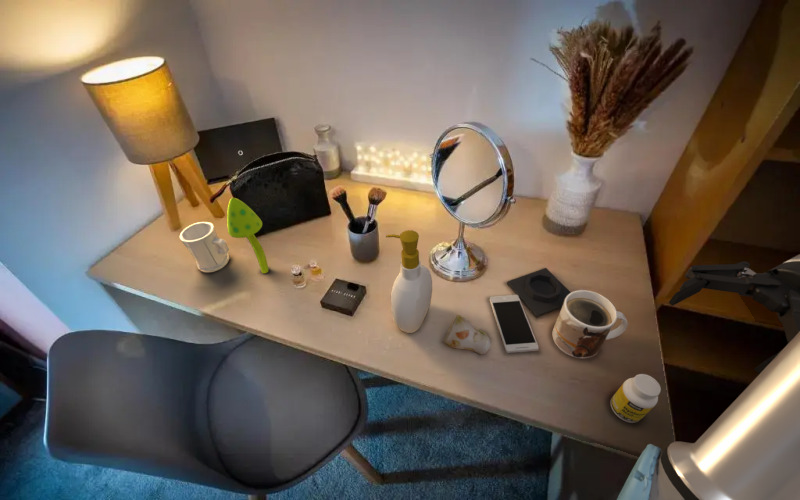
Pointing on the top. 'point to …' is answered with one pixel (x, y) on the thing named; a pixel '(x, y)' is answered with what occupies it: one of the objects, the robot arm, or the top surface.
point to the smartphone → (513, 324)
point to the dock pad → (540, 291)
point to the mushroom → (246, 227)
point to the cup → (205, 246)
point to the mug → (586, 324)
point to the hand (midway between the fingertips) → (714, 330)
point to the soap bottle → (410, 286)
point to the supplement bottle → (635, 398)
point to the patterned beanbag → (467, 336)
